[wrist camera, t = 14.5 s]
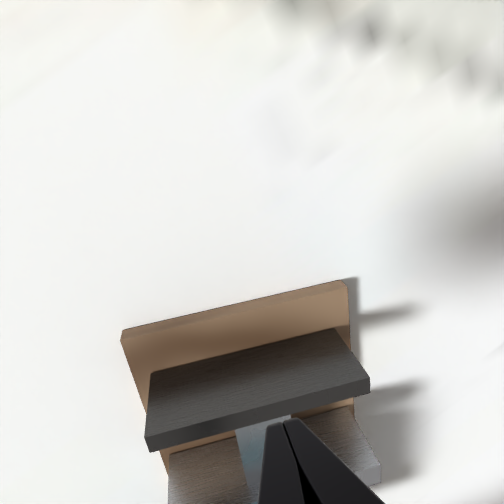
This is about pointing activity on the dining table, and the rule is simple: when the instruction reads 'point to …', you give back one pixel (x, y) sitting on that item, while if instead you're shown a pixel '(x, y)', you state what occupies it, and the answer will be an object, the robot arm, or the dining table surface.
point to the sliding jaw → (254, 414)
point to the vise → (235, 339)
